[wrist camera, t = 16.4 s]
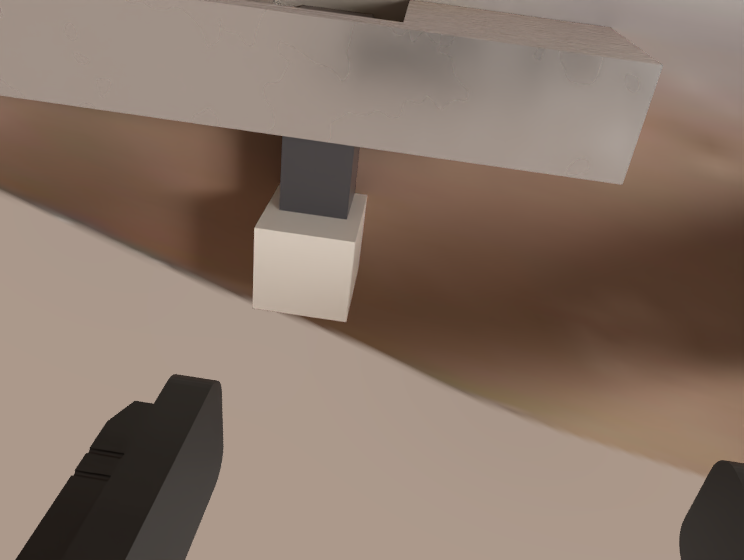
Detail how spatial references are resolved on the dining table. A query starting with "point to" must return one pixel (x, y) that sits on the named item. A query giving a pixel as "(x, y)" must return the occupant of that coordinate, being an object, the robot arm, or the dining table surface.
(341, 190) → the plug
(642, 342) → the dining table surface
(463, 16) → the housing
